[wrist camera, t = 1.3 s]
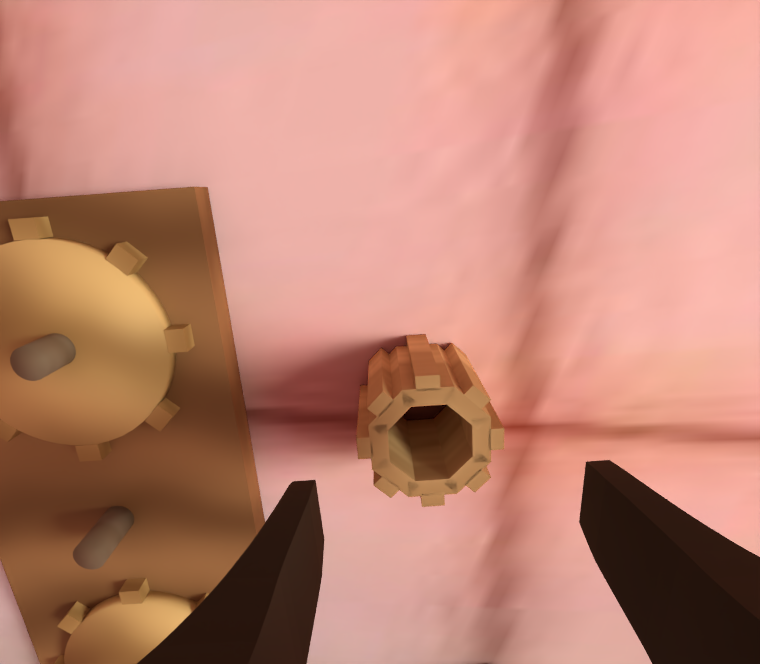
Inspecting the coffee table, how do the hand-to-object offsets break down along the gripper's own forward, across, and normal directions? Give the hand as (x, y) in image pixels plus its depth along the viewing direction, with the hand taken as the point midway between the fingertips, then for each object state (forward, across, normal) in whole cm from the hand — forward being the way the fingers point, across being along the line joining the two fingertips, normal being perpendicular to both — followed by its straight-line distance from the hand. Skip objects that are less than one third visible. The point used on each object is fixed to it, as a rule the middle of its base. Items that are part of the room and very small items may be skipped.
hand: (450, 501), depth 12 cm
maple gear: (+10, 0, +2) cm, 10 cm away
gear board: (+10, +15, +7) cm, 19 cm away
